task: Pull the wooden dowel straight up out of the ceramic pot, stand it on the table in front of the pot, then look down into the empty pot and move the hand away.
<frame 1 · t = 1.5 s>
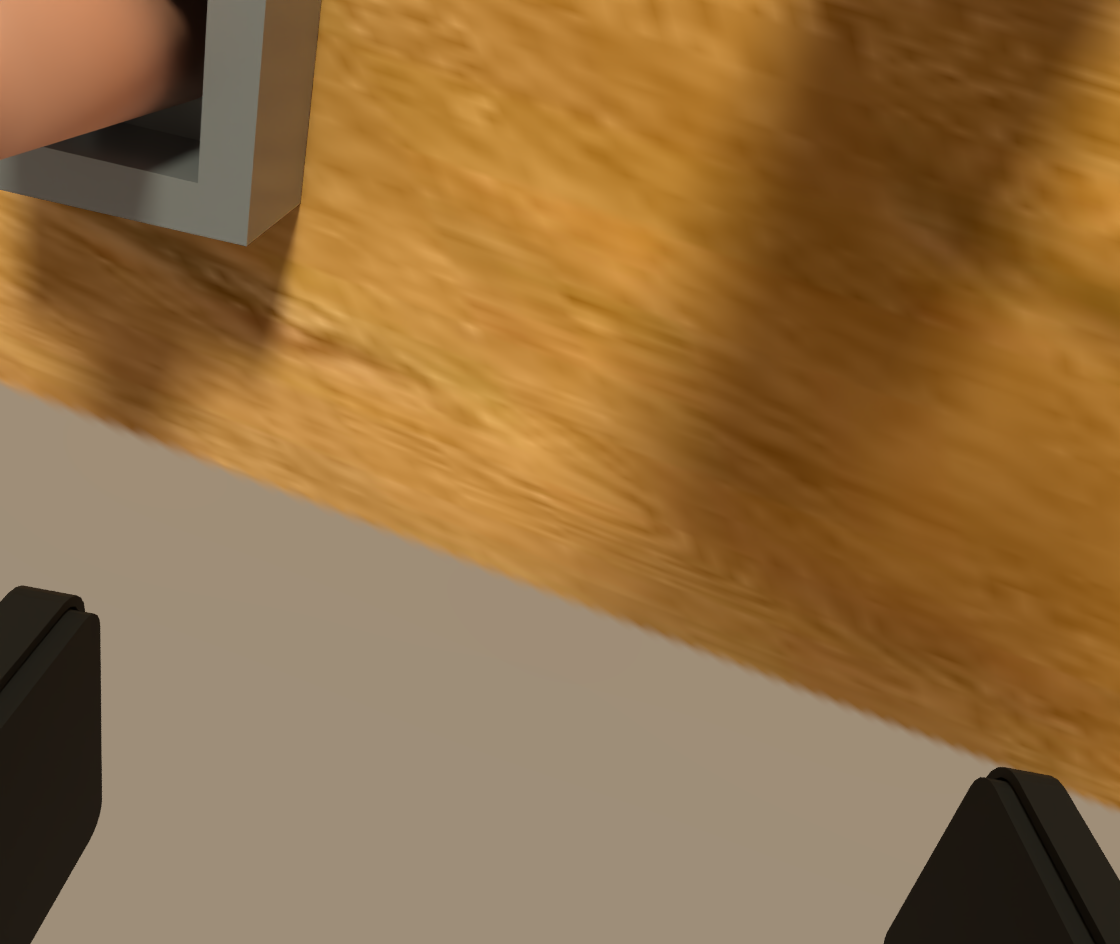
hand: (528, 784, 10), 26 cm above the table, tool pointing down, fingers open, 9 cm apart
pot: (176, 33, 31), on the table
dowel: (166, 34, 30), point 1 cm above the table, touching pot
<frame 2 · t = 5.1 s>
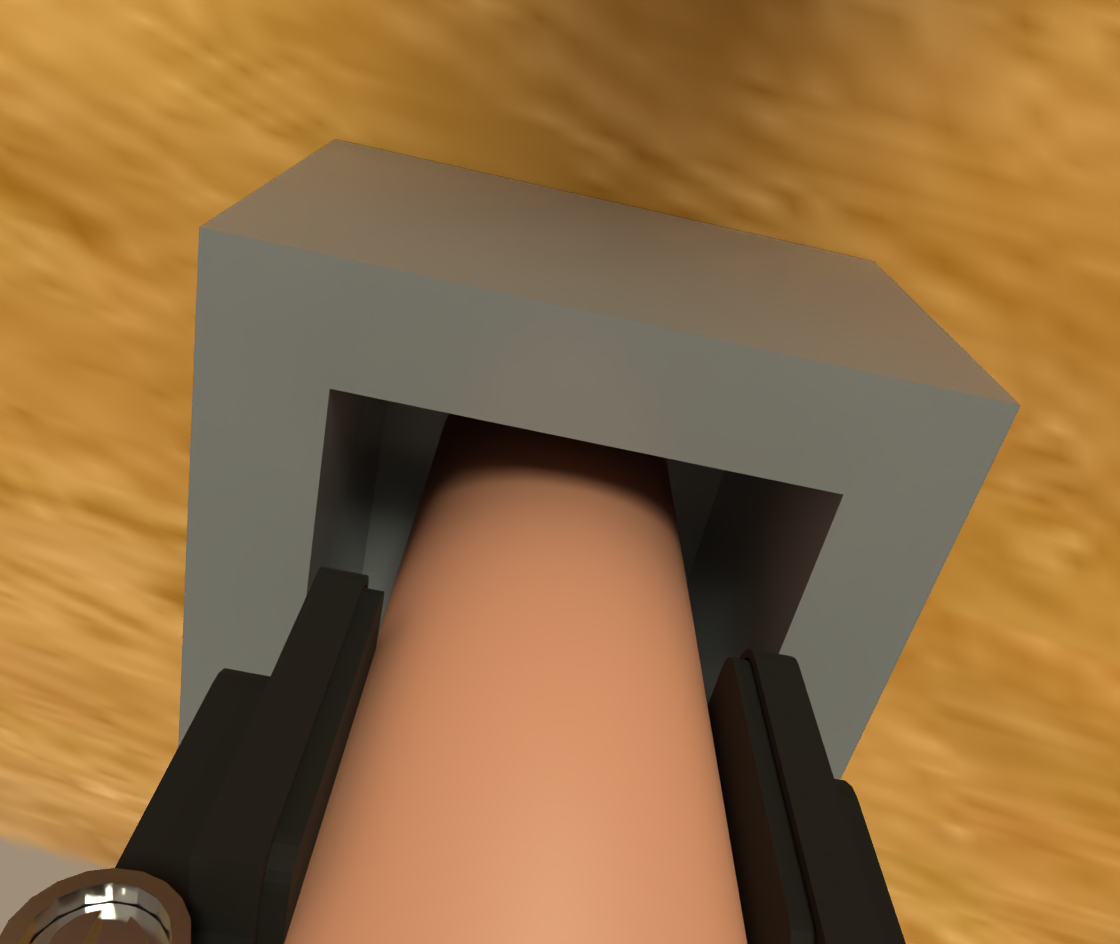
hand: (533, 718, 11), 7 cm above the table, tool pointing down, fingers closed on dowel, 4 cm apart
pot: (552, 444, 18), on the table
dowel: (551, 464, 17), point 1 cm above the table, touching gripper, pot
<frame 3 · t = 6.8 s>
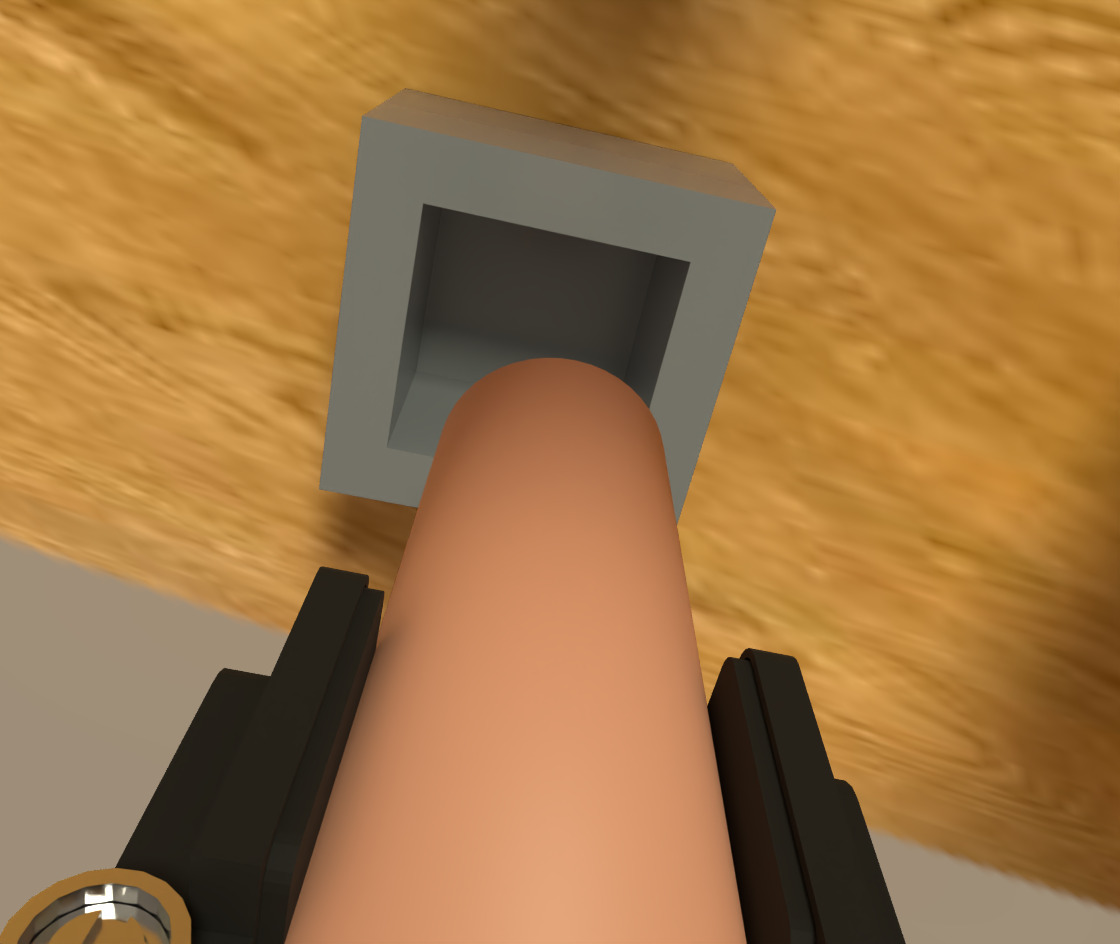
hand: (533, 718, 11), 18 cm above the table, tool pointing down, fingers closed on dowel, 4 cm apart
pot: (537, 287, 28), on the table
dowel: (551, 464, 17), point 12 cm above the table, touching gripper
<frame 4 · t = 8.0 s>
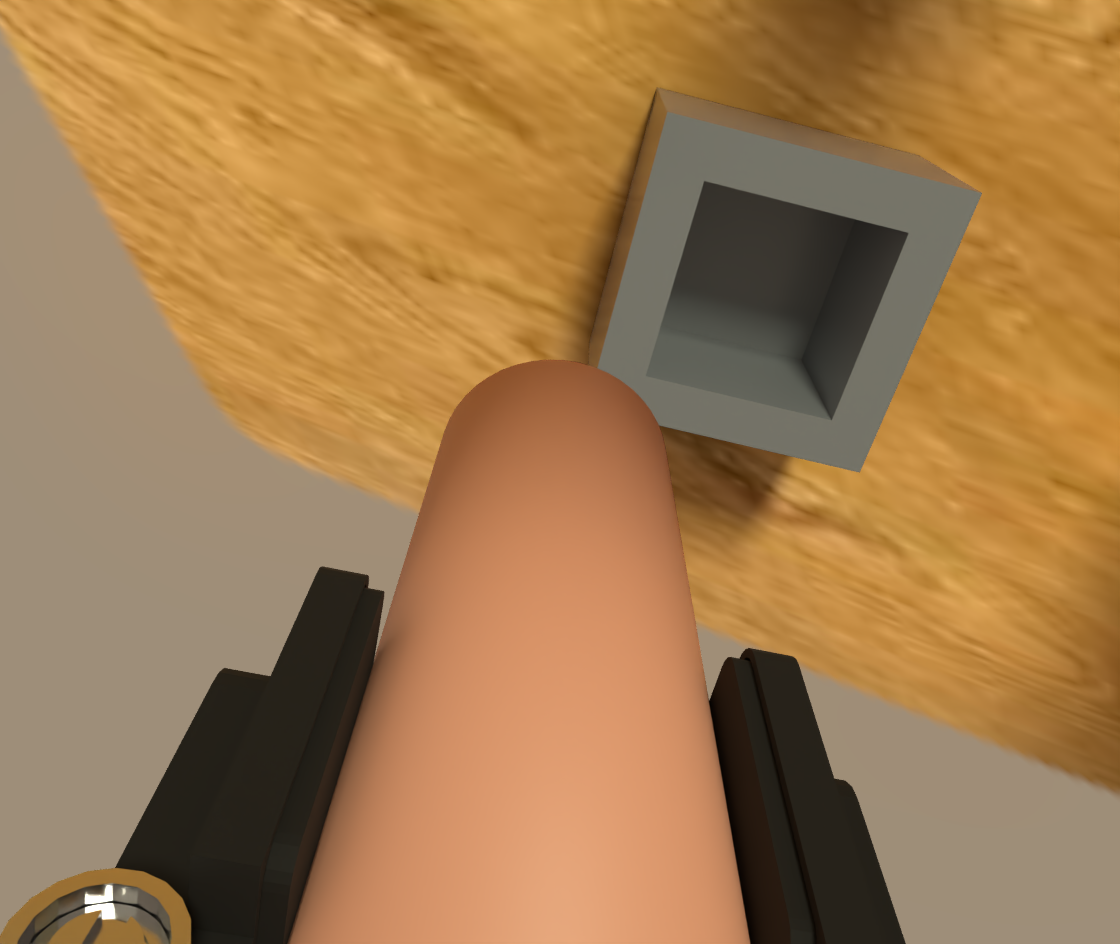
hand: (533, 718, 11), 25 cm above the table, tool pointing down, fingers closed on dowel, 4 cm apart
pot: (745, 253, 33), on the table
dowel: (553, 466, 17), point 18 cm above the table, touching gripper
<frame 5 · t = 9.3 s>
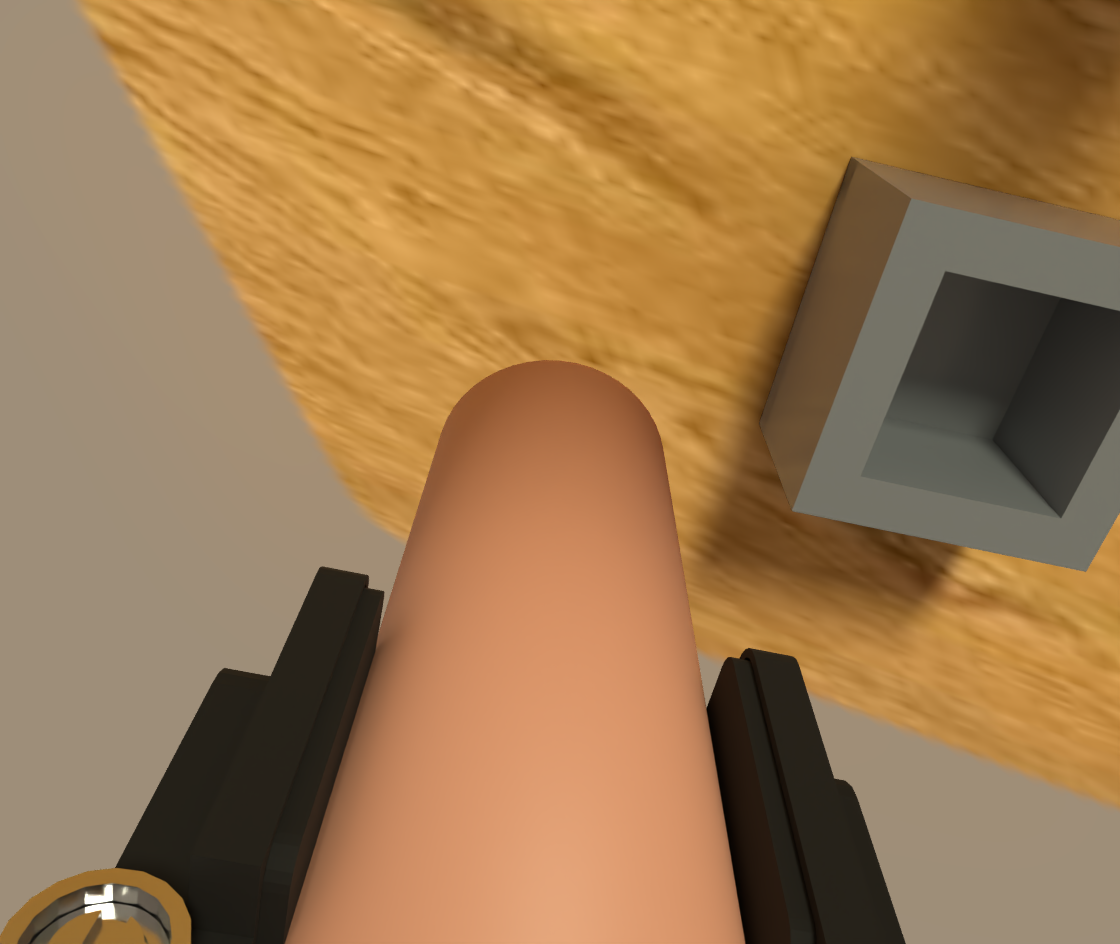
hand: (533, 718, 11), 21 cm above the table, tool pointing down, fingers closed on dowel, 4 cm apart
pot: (935, 328, 31), on the table
dowel: (550, 466, 17), point 15 cm above the table, touching gripper
when the fingers open (8 cm above the table, at t = 12.3 s): dowel drops 1 cm, on the table.
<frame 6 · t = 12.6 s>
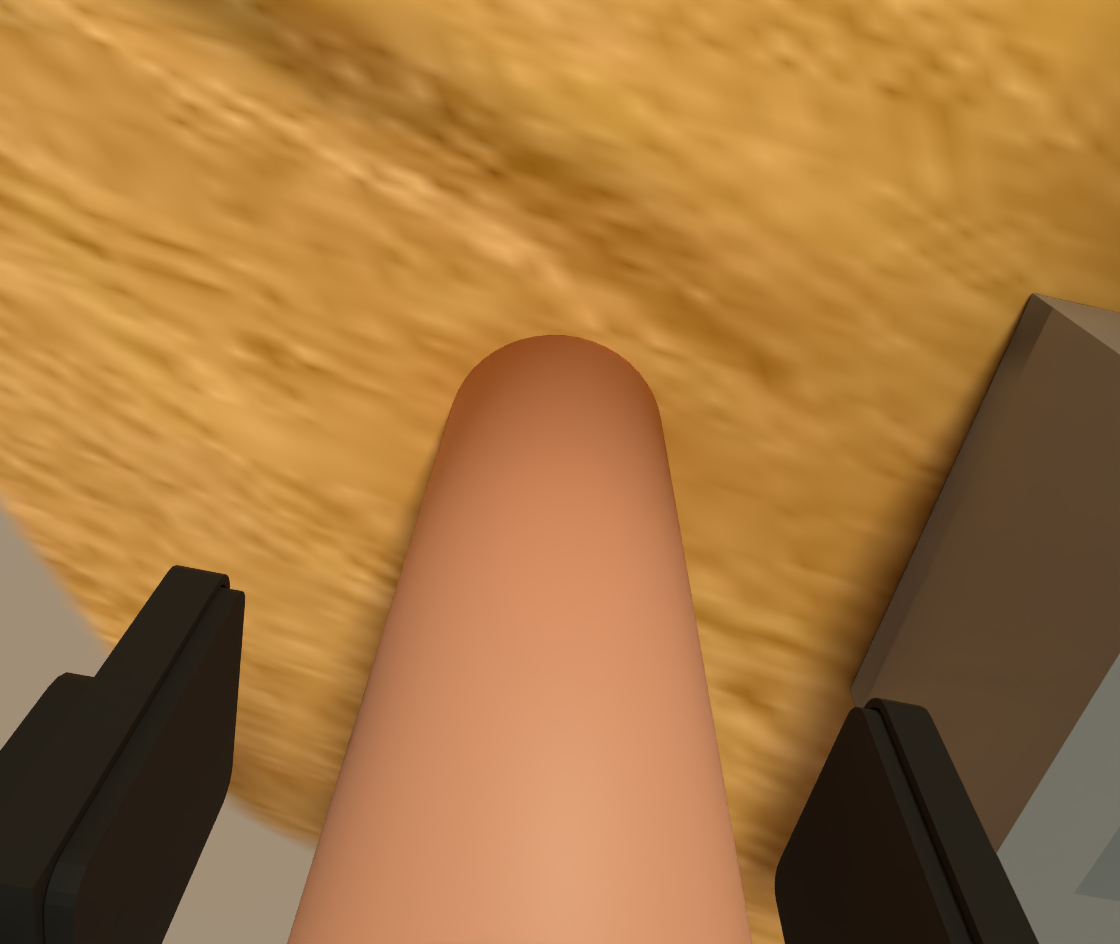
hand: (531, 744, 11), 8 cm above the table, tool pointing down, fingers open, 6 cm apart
dowel: (555, 436, 18), on the table
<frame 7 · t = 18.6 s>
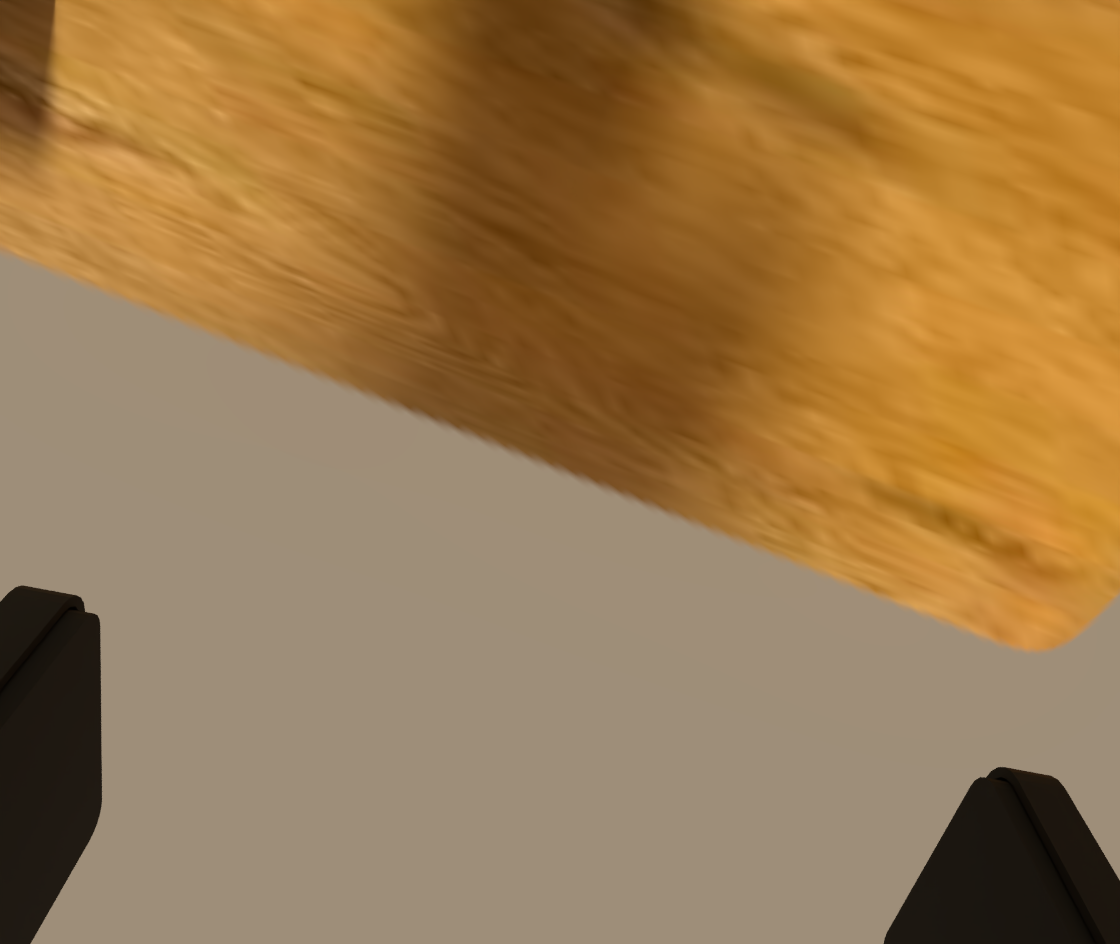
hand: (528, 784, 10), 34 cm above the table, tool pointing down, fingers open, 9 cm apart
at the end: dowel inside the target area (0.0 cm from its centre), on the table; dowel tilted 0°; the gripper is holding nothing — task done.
